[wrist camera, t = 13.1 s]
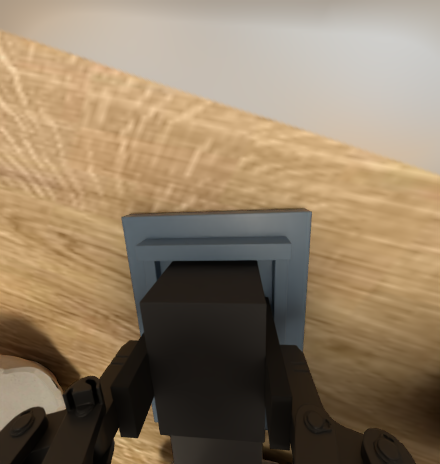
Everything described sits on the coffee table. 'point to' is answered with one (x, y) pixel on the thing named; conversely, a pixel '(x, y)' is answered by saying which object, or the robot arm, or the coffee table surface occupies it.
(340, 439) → the robot arm
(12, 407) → the pottery shard
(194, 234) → the back plate
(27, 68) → the coffee table surface
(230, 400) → the block
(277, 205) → the coffee table surface
